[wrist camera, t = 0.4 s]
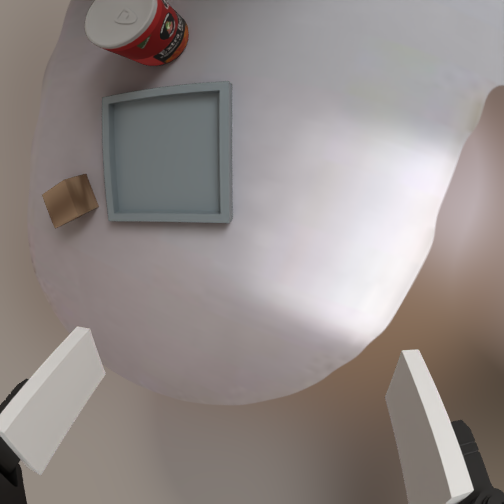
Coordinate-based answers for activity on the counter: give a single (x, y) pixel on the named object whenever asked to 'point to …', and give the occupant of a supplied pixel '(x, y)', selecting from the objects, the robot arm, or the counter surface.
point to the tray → (169, 154)
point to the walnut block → (69, 200)
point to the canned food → (137, 29)
